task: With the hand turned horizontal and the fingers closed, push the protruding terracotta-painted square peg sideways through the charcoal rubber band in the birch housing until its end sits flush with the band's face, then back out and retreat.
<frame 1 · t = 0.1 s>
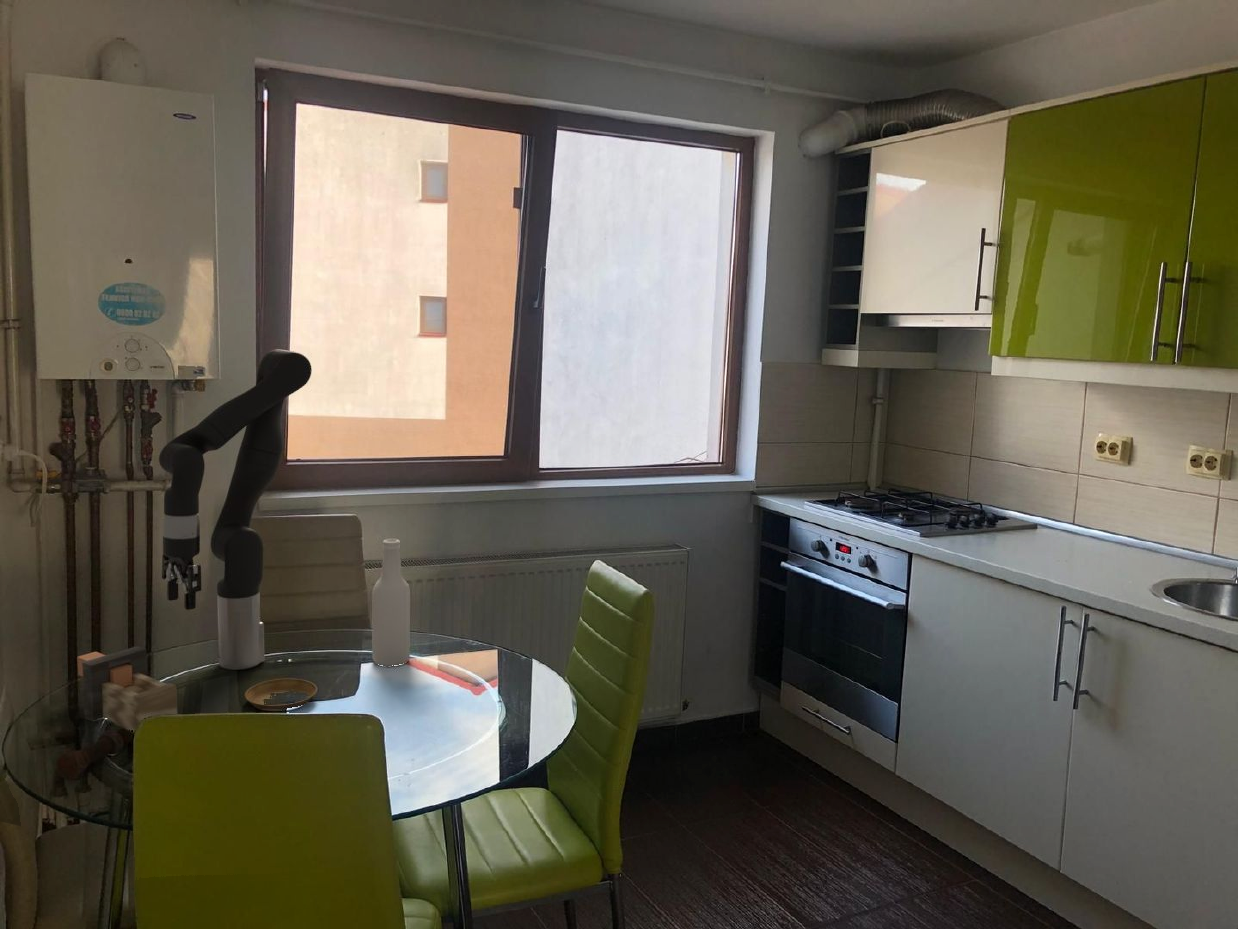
hand: (181, 604, 224), 17 cm above the table, tool pointing down, fingers open, 8 cm apart
alcohol: (391, 662, 242), on the table
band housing: (117, 710, 209), on the table
plant saucer: (281, 703, 217), on the table
peg: (104, 670, 209), point 8 cm above the table, slide at 0.0 cm
bolt: (99, 762, 188), on the table
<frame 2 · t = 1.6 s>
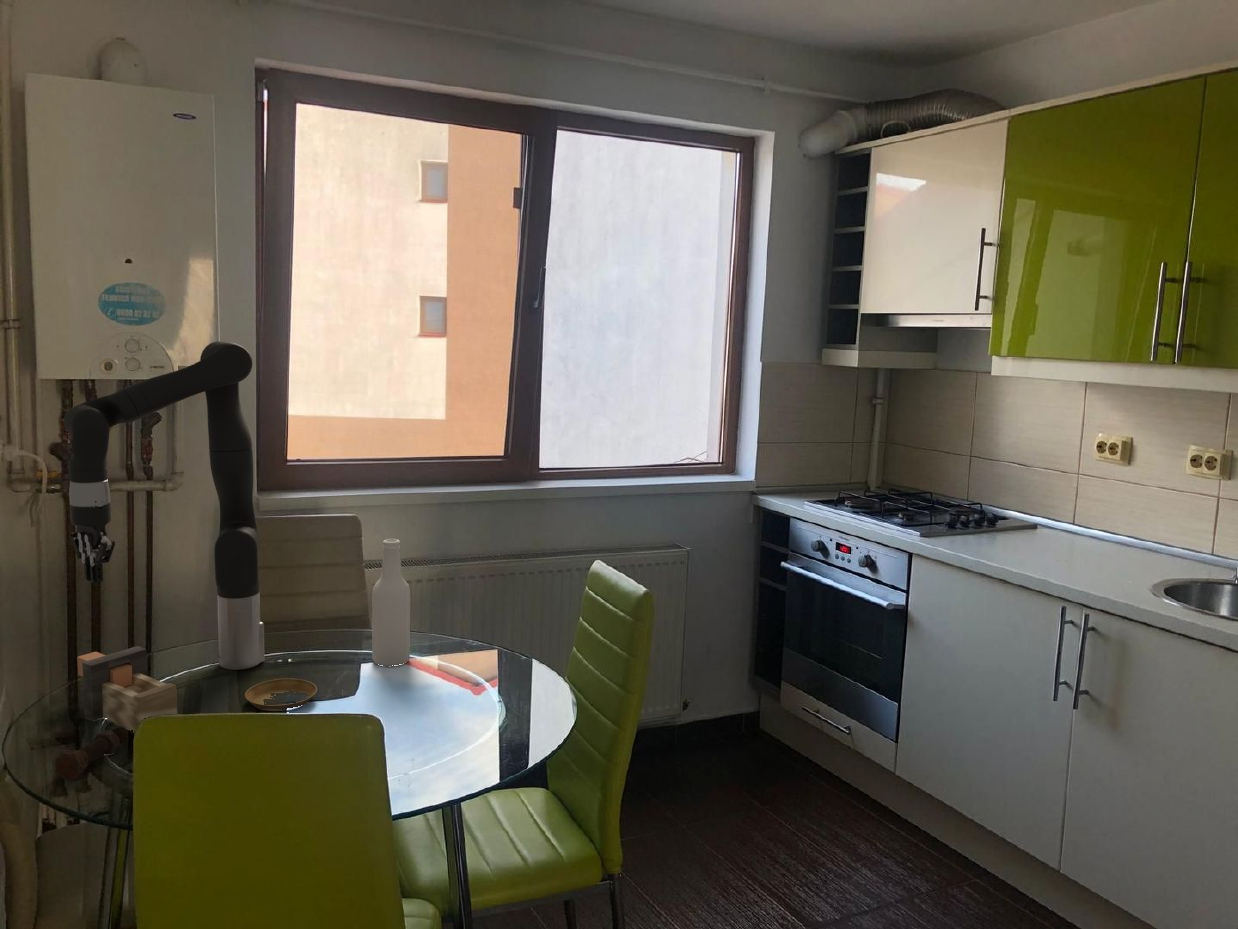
hand: (94, 580, 213), 25 cm above the table, tool pointing down, fingers closed
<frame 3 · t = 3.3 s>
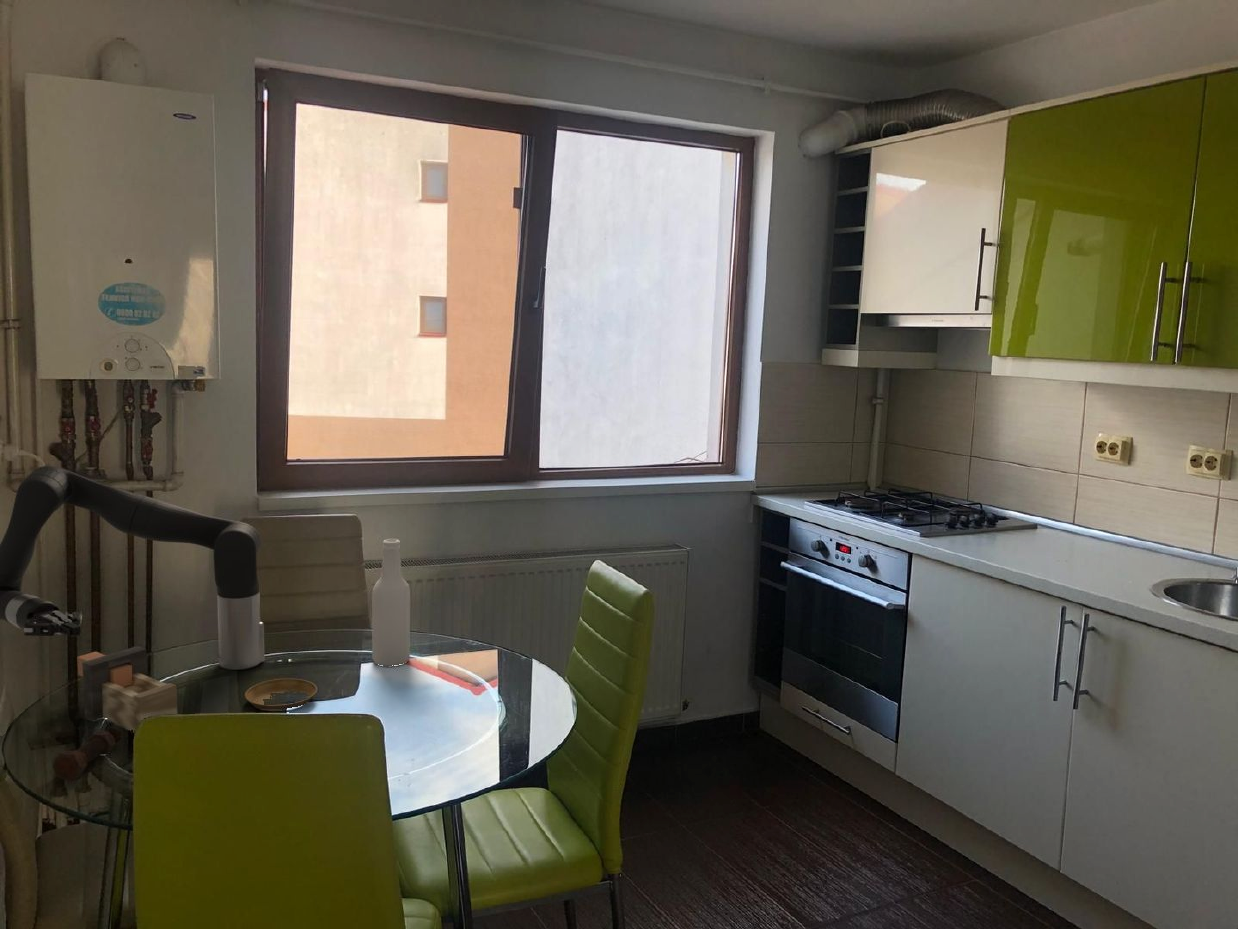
hand: (76, 631, 213), 14 cm above the table, tool horizontal, fingers closed
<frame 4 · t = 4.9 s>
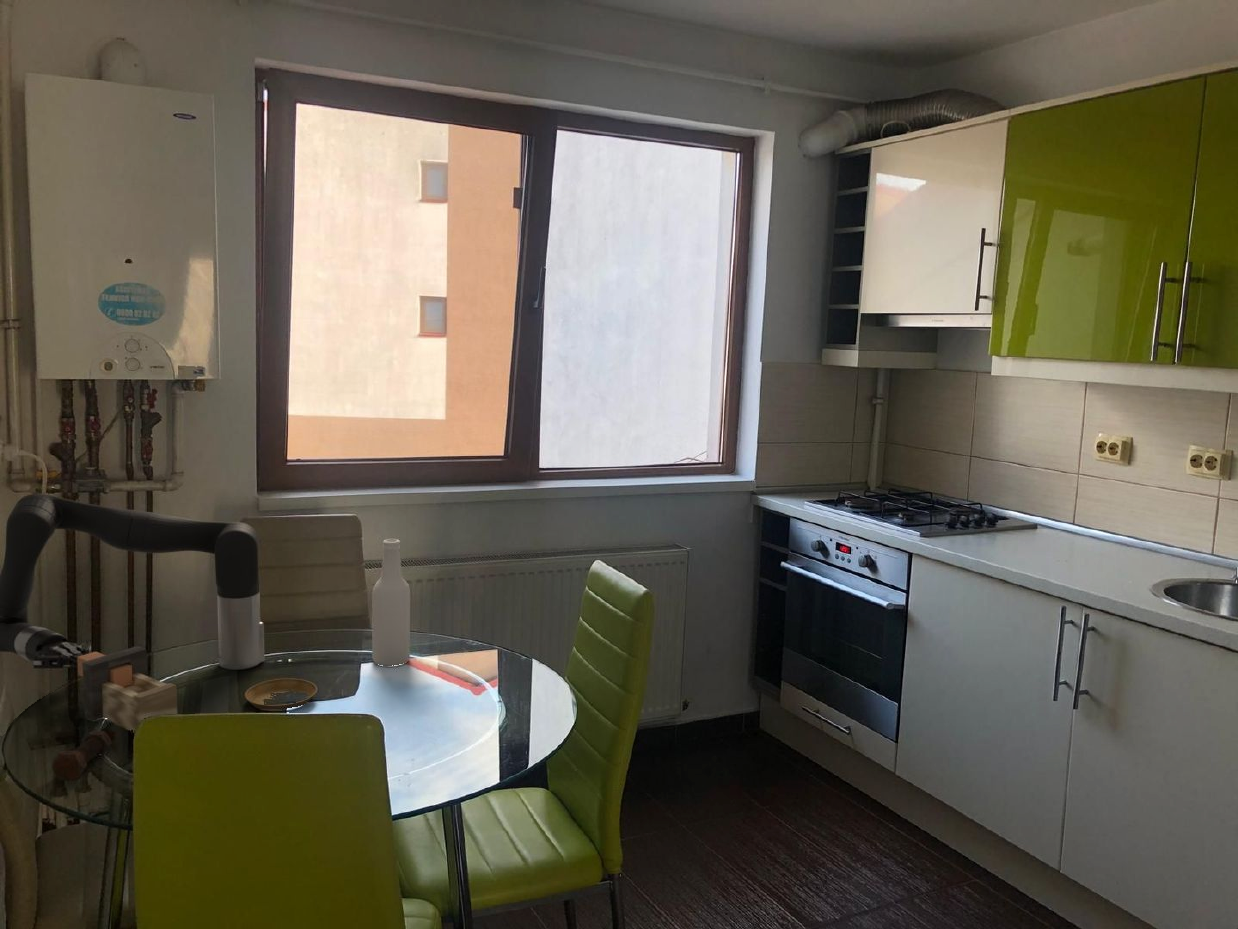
hand: (85, 663, 212), 8 cm above the table, tool horizontal, fingers closed
peg: (104, 670, 209), point 8 cm above the table, slide at 0.0 cm, touching gripper
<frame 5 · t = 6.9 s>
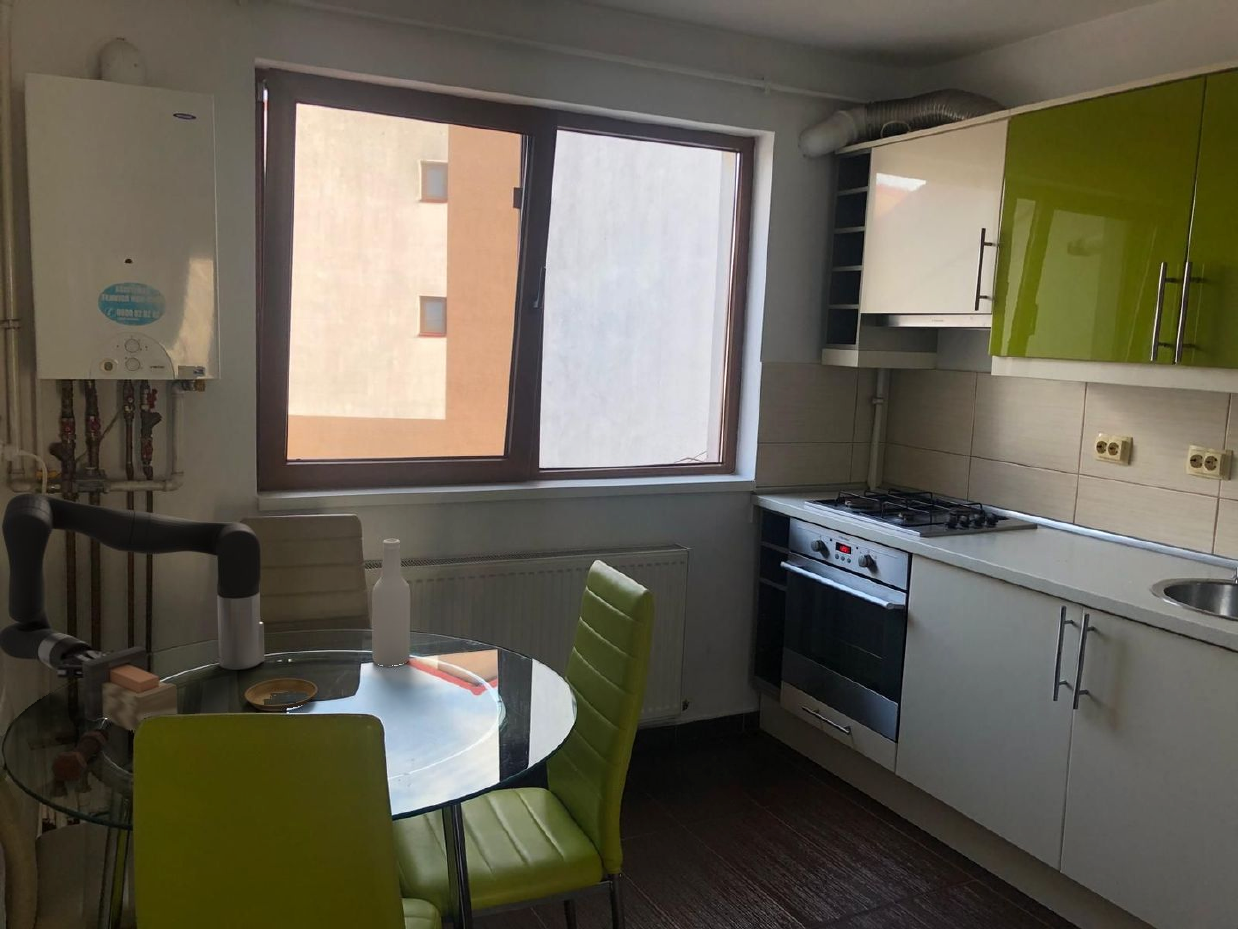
hand: (110, 674, 208), 8 cm above the table, tool horizontal, fingers closed
peg: (130, 681, 205), point 8 cm above the table, slide at 9.1 cm, touching gripper
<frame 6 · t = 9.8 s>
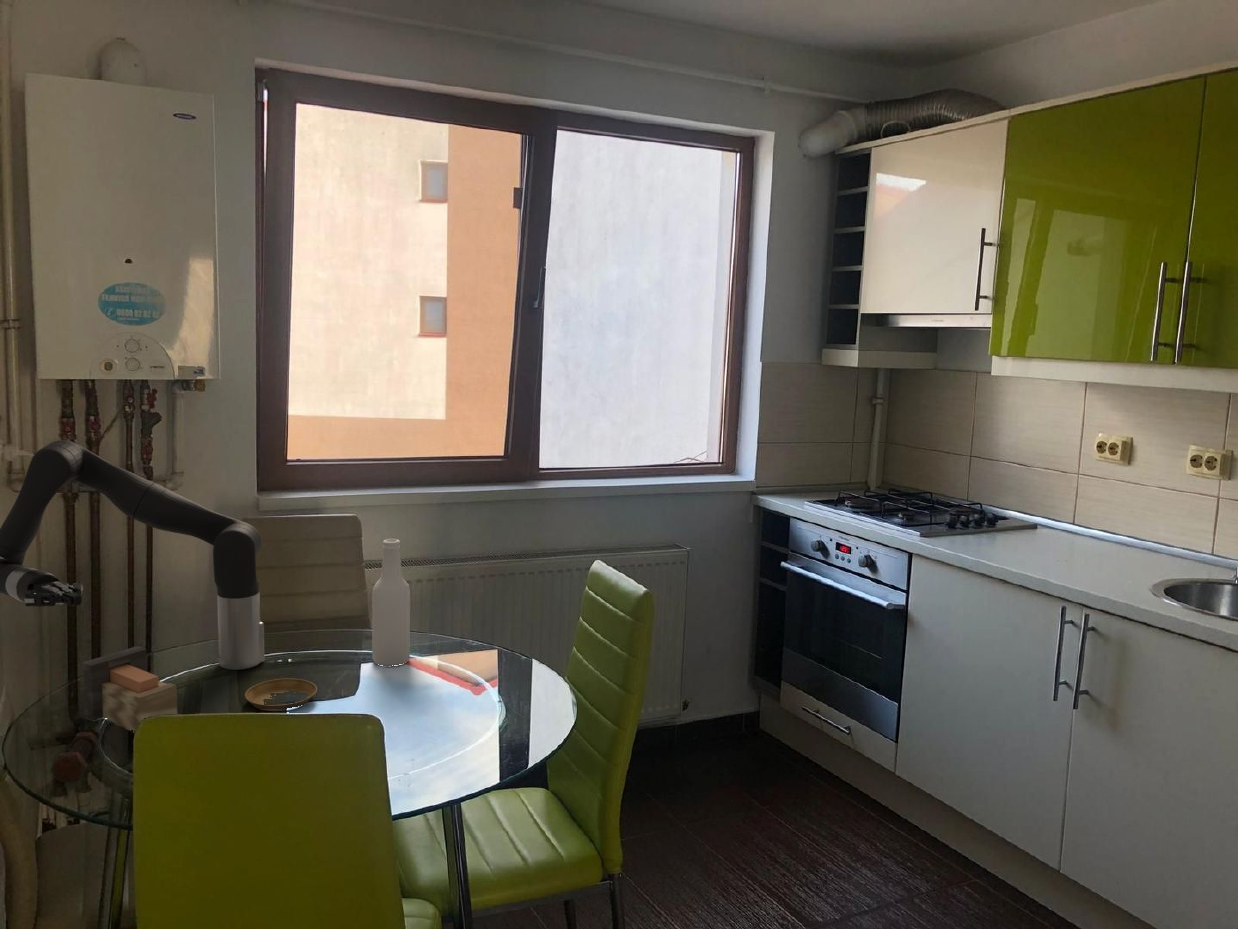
hand: (77, 601, 212), 21 cm above the table, tool horizontal, fingers closed
peg: (130, 681, 205), point 8 cm above the table, slide at 9.0 cm
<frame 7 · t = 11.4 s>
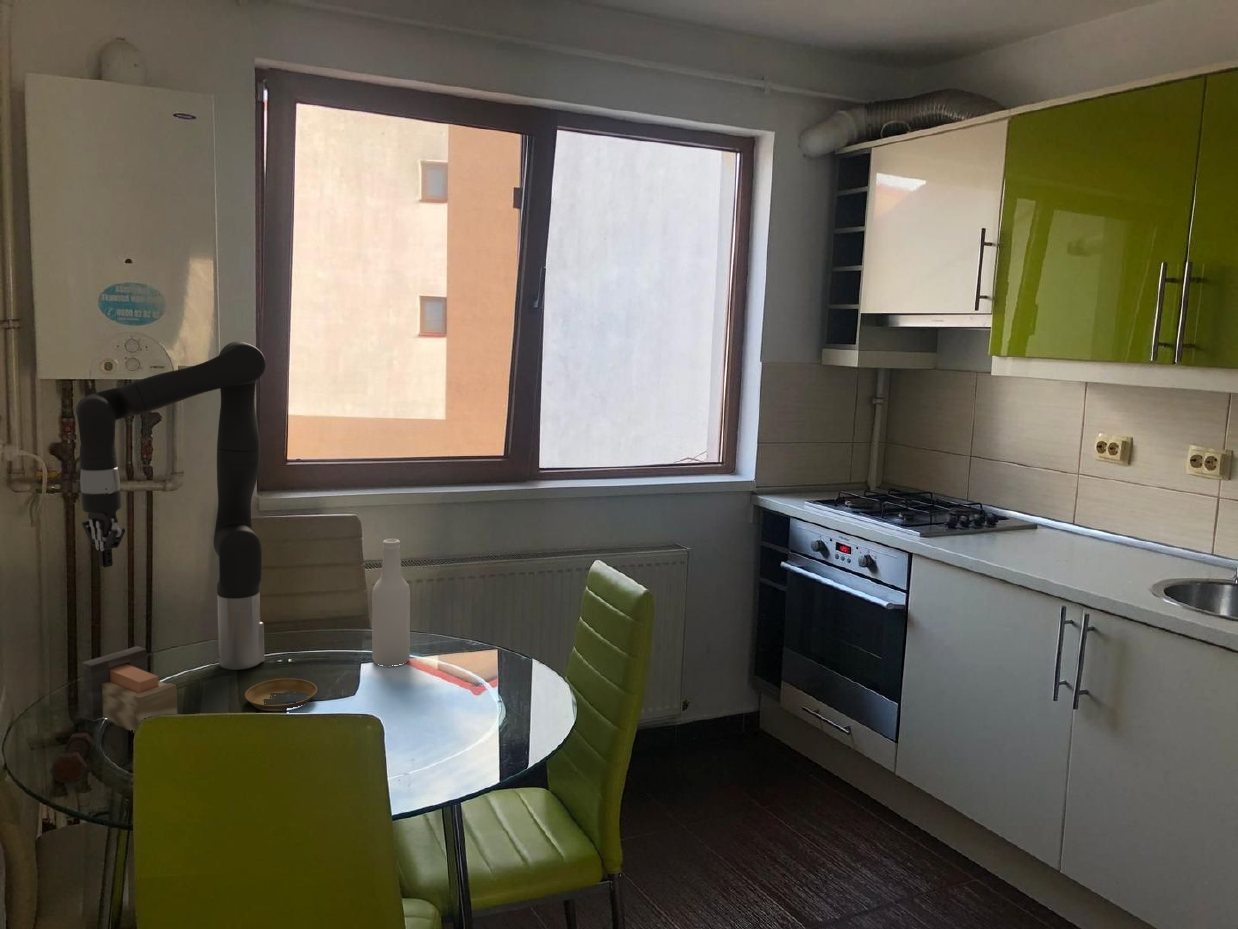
hand: (106, 566, 218), 27 cm above the table, tool pointing down, fingers closed
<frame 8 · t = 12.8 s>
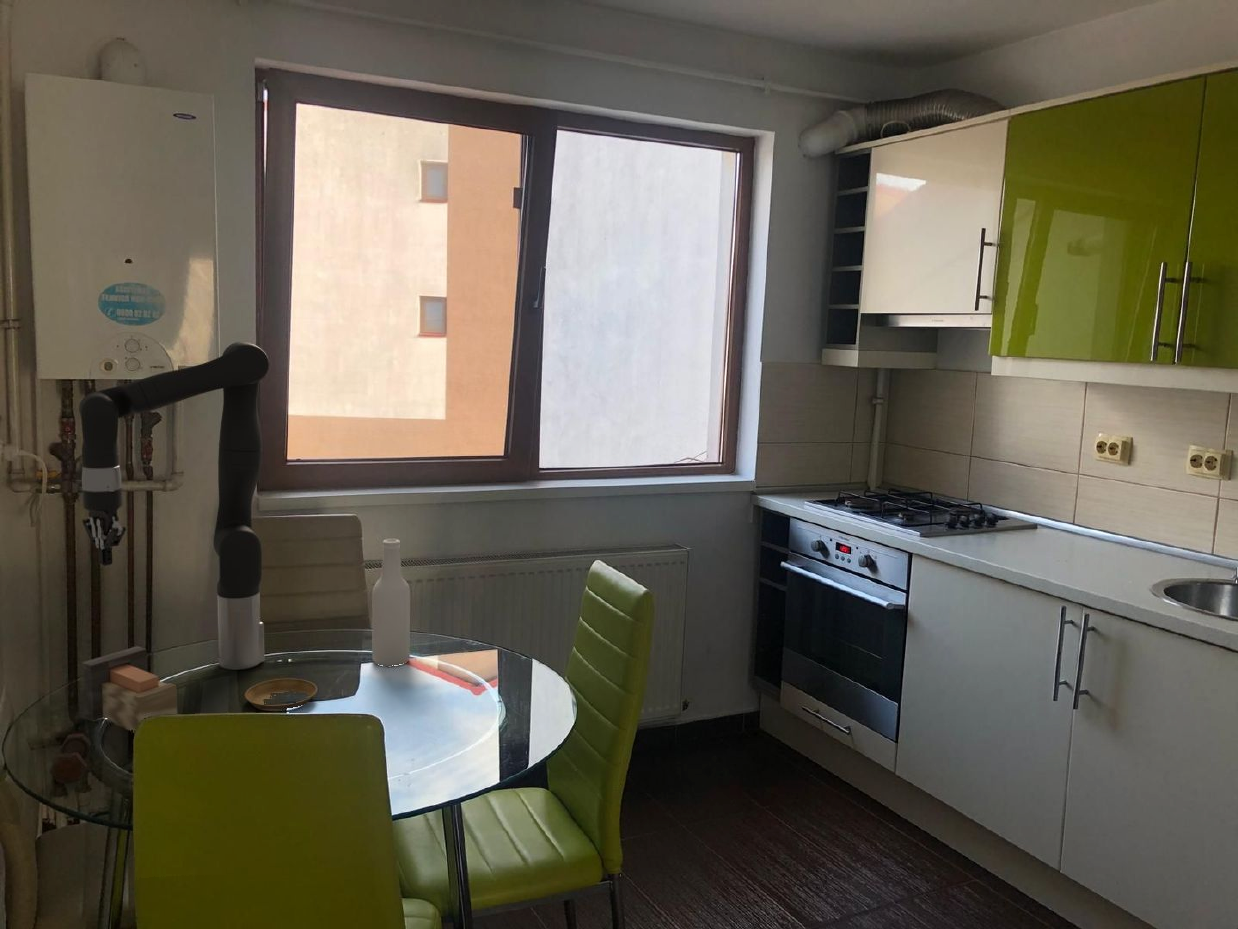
hand: (105, 564, 218), 27 cm above the table, tool pointing down, fingers closed
at the end: peg slide at 9.0 cm; the gripper is holding nothing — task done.
